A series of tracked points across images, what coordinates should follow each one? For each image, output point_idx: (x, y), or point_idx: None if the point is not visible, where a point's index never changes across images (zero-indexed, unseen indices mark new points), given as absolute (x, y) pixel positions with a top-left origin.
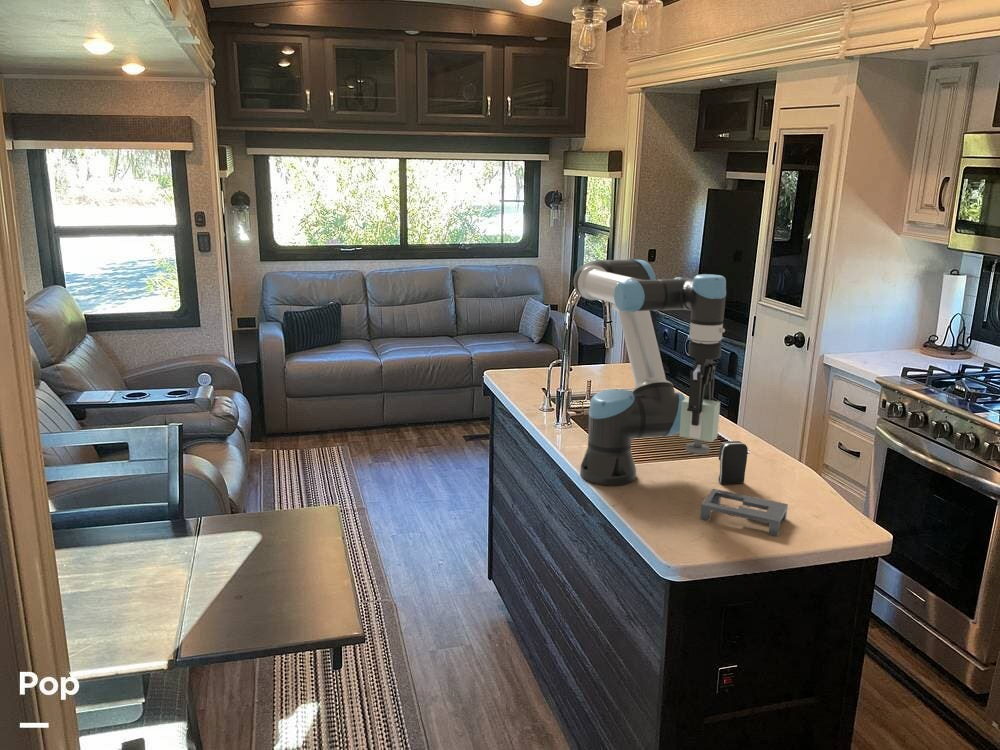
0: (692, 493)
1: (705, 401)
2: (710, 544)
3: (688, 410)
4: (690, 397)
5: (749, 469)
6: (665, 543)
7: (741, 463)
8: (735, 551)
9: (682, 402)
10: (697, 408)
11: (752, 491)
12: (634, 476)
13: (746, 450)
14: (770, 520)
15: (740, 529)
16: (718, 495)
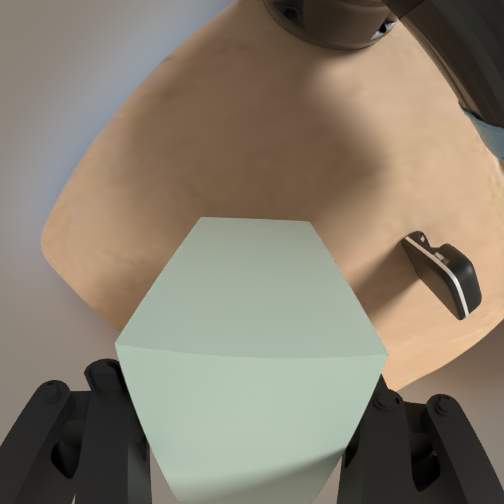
0: (330, 191)
1: (269, 479)
2: (115, 281)
3: (52, 380)
4: (3, 462)
5: (479, 269)
6: (74, 216)
7: (436, 292)
8: (120, 317)
9: (120, 345)
10: (59, 440)
11: (388, 298)
12: (337, 46)
13: (454, 315)
14: None
15: None
16: None
